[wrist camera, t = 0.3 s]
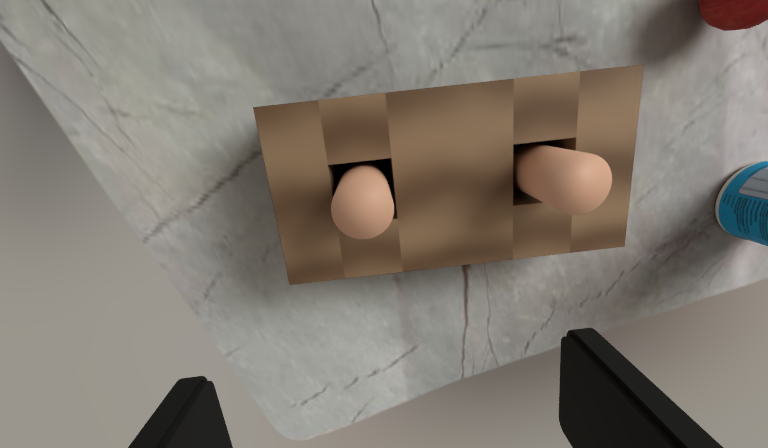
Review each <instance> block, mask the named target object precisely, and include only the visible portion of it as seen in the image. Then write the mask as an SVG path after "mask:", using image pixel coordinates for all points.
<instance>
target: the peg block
mask: <svg viewBox="0 0 768 448" xmlns="http://www.w3.org/2000/svg"><path fill="white" fill-rule="evenodd" d="M643 69H644V65H634V66H625V67H616V68H607V69H598V70H589V71H580V72H571V73H562V74H553V75H543V76H534V77H525V78H516V79H507V80H498V81H489V82H480V83H471V84H462V85H452V86H443V87H434V88H425V89H416V90H407V91H398V92H389V93H380V94H371V95H361V96H352V97H343V98H334V99H325V100H316V101H307V102H298V103H289V104H280V105H270V106H261V107H253V109H254V114H255V118H256V123H257V128H258V133H259V138H260V143H261V148H262V152H263V157H264V162H265V167H266V172H267V177H268V182H269V186H270V191H271V196H272V201H273V206H274V211H275V215H276V220H277V225H278V230H279V235H280V240H281V245H282V249H283V254H284V259H285V264H286V269H287V274H288V279H289V283H290V285H292V284H301V283H310V282H318V281H327V280H336V279H345V278H353V277H362V276H371V275H380V274H388V273H397V272H406V271H415V270H423V269H432V268H441V267H449V266H458V265H467V264H476V263H484V262H493V261H502V260H511V259H519V258H528V257H537V256H546V255H554V254H563V253H572V252H580V251H589V250H598V249H607V248H615V247H624V246H625V237H626V227H627V218H628V209H629V199H630V190H631V181H632V171H633V162H634V153H635V143H636V134H637V125H638V116H639V106H640V97H641V88H642V78H643ZM521 143H530V144H531V143H534V144H541V145H547V146H552V147H558V148H563V149H569V150H574V151H580V152H585V153H591V154H595V155H597V156H599V157H601V158H603V159H604V160H605V161H606V162H607V164H608V165H609V167H610V169H611V173H612V185H611V189H610V191H609V194H608V195H607V197H606V199H605V200H604V201H603V202H602V204H601V205H599V206H598V207H597V208H596V209H594V210H593V211H591V212H588V213H586V214H582V215H569V214H566V213H564V212H562V211H560V210H558V209H556V208H554V207H552V206H550V205H548V204H546V203H544V202H542V201H540V200H538V199H536V198H534V197H532V196H530V195H528V194H526V193H524V192H522V191H520V190H518V189H516V188H515V187H514V186H513V144H521ZM378 159H388V169H389V178H390V188H391V196H392V199H393V203H394V215H393V219H392V221H391V223H390V225H389V226H388V228H387V229H386V230H385V231H384V232H383V233H381V234H380V235H378V236H376V237H374V238H370V239H355V238H352V237H349V236H347V235H346V234H344V233H343V232H342V231H340V229H339V228H338V227H337V226H336V224H335V223H334V221H333V218H332V214H331V203H332V199H333V197H334V194H335V192H336V189H337V187H338V185H339V182H340V180H341V179H340V172H339V165H338V164H342V163H351V162H360V161H369V160H378Z"/></svg>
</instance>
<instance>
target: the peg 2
mask: <svg viewBox="0 0 768 448" xmlns="http://www.w3.org/2000/svg"><path fill="white" fill-rule="evenodd" d="M611 185H612V173H611V169H610V167H609V165H608V164H607V162H606V161H605V160H604V159H603V158H601V157H599V156H597V155H595V154H591V153H585V152H580V151H574V150H569V149H563V148H558V147H552V146H547V145H541V144H534V143H531V144H526V145H523V146H521V147H519V148H518V149H517V150H515V151H514V152H513V186H514V187H515V188H516V189H518V190H520V191H522V192H524V193H526V194H528V195H530V196H532V197H534V198H536V199H538V200H540V201H542V202H544V203H546V204H548V205H550V206H552V207H554V208H556V209H558V210H560V211H562V212H564V213H566V214H569V215H582V214H586V213H588V212H591V211H593V210H594V209H596V208H597V207H598V206H599V205H601V204H602V202H603V201H604V200H605V199H606V197H607V195H608V194H609V191H610V189H611Z"/></svg>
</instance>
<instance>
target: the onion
mask: <svg viewBox="0 0 768 448" xmlns="http://www.w3.org/2000/svg"><path fill="white" fill-rule="evenodd" d="M699 8H700V12H701V16H702V17H703V18H704V20H705V21H706V22H707V23H708V24H709V25H711V26H713V27H716V28H718V29H721V30H724V31H728V30H739V29H747V28H751V27H753V26H756V25H759V24H760V23H762V22H764V21H766V20H768V0H699Z"/></svg>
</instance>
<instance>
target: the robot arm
mask: <svg viewBox="0 0 768 448" xmlns="http://www.w3.org/2000/svg"><path fill="white" fill-rule="evenodd" d="M560 363H561V364H560V396H559V421H560V425H561V428H562V430H563V432H564V434H565V435H566V437H567V439H568V441H569V442H570V444H571V445H572V447H573V448H723V447H722V446H721V445H720V444H719V443H718V442H716V441H715V440H714V439H713V438H712V437H711V436H710V435H709V434H708V433H707V432H706V431H704V430H703V429H702V428H701V427H700V426H699V425H698V424H697V423H696V422H695V421H693V419H691V418H690V417H689V416H688V415H687V414H686V413H685V412H684V411H683V410H682V409H680V408H679V407H678V406H677V405H676V404H675V403H674V402H673V401H672V400H671V399H670V398H669V397H667V396H666V395H665V394H664V393H663V392H662V391H661V390H660V389H659V388H658V387H656V385H654V384H653V383H652V382H651V381H650V380H649V379H648V378H647V377H646V376H645V375H643V374H642V373H641V372H640V371H639V370H638V369H637V368H636V367H635V366H634V365H633V364H632V363H630V362H629V361H628V360H627V359H626V358H625V357H624V356H623V355H622V354H621V353H620V352H619V351H617V350H616V349H615V348H614V347H613V346H612V345H611V344H610V343H609V342H608V341H607V340H605V339H604V338H603V337H602V336H601V335H600V334H599V333H598V332H597V331H596V330H594V329H593V328H584V329H576V330H570V331H568V332H567V336H566V337H563V338H562V339H561V362H560ZM128 448H233V447H232V444H231V440H230V437H229V434H228V430H227V427H226V424H225V420H224V417H223V414H222V410H221V407H220V404H219V400H218V397H217V394H216V390H215V387H214V384H213V382H212V381H207V379H206V378H205V377H204V376H198V377H191V378H183V379H180V380H178V381H177V382H176V384H175V385H174V386H173V388H172V389H171V391H170V392H169V393H168V394H167V396H166V397H165V398H164V400H163V401H162V403H161V404H160V405H159V407H158V408H157V409H156V411H155V412H154V413H153V415H152V416H151V417H150V419H149V420H148V422H147V423H146V424H145V425H144V427H143V428H142V430H141V431H140V432H139V434H138V435H137V437H136V438H135V439H134V441H133V442H132V443H131V444H130V446H129V447H128Z"/></svg>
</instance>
